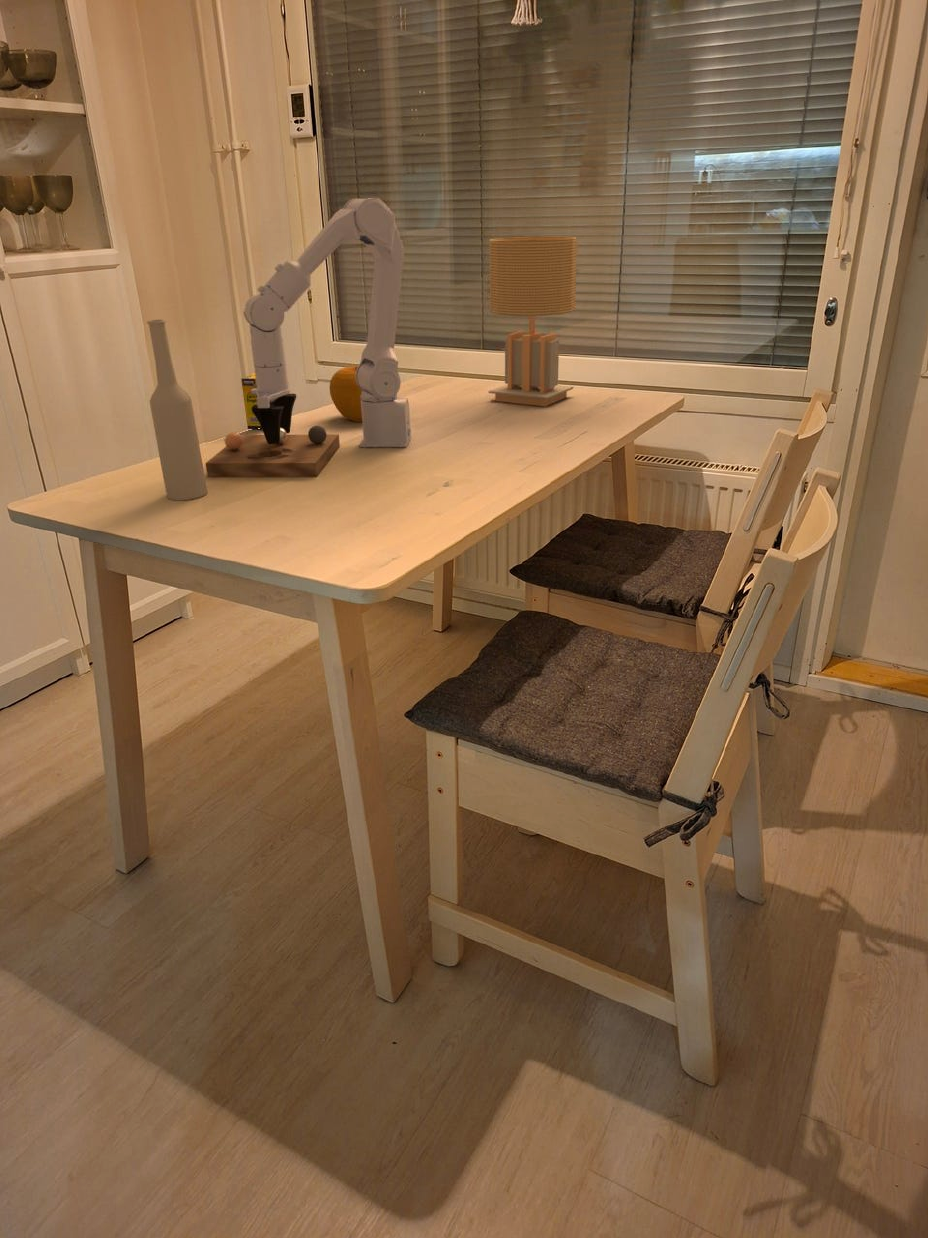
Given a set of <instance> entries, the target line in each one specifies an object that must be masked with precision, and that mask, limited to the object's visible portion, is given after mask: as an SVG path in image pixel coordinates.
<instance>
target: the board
mask: <svg viewBox="0 0 928 1238" xmlns="http://www.w3.org/2000/svg"><path fill="white" fill-rule="evenodd" d="M239 435H240V436H241V438H242V441H243V442H242V446H241V447H240V448H239V449H237V450H231V449H229V448H228V447H227V446H226V445H225V447H223V448H222V449H221V450H220V451H218V452H217V453H215V455H214V456H213V457H211V458H210V459H209V460H208V461H206V462H205V463H204V464H205V469H206V474H207V477H208V478H243V477H244V478H246V477H247V478H260V477H261V478H265V477H266V478H273V477H274V478H276V477H277V478H286V477H288V478H290V477H291V478H292V477H293V478H302V477H303V478H305V477H306V478H307V477H308V478H310V477H311V478H312V477H313V478H316V477H318V476H319V475H320V473H321V472H322V471H323V470H324V468H325V467H326V466H327V465H328V463H329V462H330V461H331V459H332V458H333V457H334V455H335V454H336V453H337V451H338V450H339V449H340V447H341V443H340V435H339V434H335V433H334V434H331V433H330V434H327V433H326V439H325V441H324V442H323V443H321V444H315V443H313V442H311V441H310V439H309V436H308V434H287V440H286V441H285V442H284V443H282V444H268V443H267V441H266V438H265V435H264V434H239Z"/></svg>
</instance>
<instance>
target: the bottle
mask: <svg viewBox="0 0 928 1238" xmlns="http://www.w3.org/2000/svg"><path fill="white" fill-rule="evenodd" d="M146 325H148V328H149V333H150V337H151V338H150V339H151V340H150V341H151V346H152V350H153V357H154V361H155V372H156V380H157V381H156V382H157V385H156V387H155V389H154V391H153V393H152V395H151V397H150V399H149V405H150V411H151V412H150V413H151V416H152V421H153V427H154V428H153V429H154V434H155V437H156V438H155V439H156V444H157V450H158V456H159V461H160V467H161V472H162V478H163V482H164V487H165V493H166V498H167V499H168V500H170V501H179V502H182V501H185V502H186V501H189V500H190V501H192V500H196V499H201V498H203V497H204V496H207V494H208V489H207V483H206V482H207V481H206V476H205V471H204V470H205V469H204V465H203V459H202V453H201V447H200V442H199V436H198V432H197V431H198V430H197V425H196V419H195V418H196V417H195V413H194V407H193V404H192V398H191V396H190V395H189V393H188V392H187V391H186V390H185V389H184V388H183V387H182V386H181V385H180V384H179V383H178V380H177V378H176V373H175V368H174V365H173V359H172V355H171V351H170V350H171V349H170V345H169V338H168V335H167V334H168V333H167V327H166V319H149V320H147V321H146Z"/></svg>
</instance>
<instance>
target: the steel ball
mask: <svg viewBox="0 0 928 1238" xmlns="http://www.w3.org/2000/svg"><path fill="white" fill-rule="evenodd" d="M287 435H288V433H287V432H286V431H285V430H284V429H283V428H281V427H280V441H279V444H282V443H284V442H285V441H286V440H287Z"/></svg>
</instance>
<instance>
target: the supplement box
mask: <svg viewBox="0 0 928 1238" xmlns="http://www.w3.org/2000/svg"><path fill="white" fill-rule="evenodd" d="M240 381H241V389H242V396H243V403H244V411H245V416H246V417H245V419H246V424H247V430H262V427H261V425H260V423H259V421H258V419H257V418H256V416H255V415H254V414H253V412H252V408H251V407H252V406H253V405H257V397H258V396H257V394H251V390H252V389H254V388H257V384H256V376H255V372H254V373H251V374H249V375H246V376H245V377H241V378H240ZM258 428H260V429H258ZM262 431H263V430H262Z"/></svg>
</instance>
